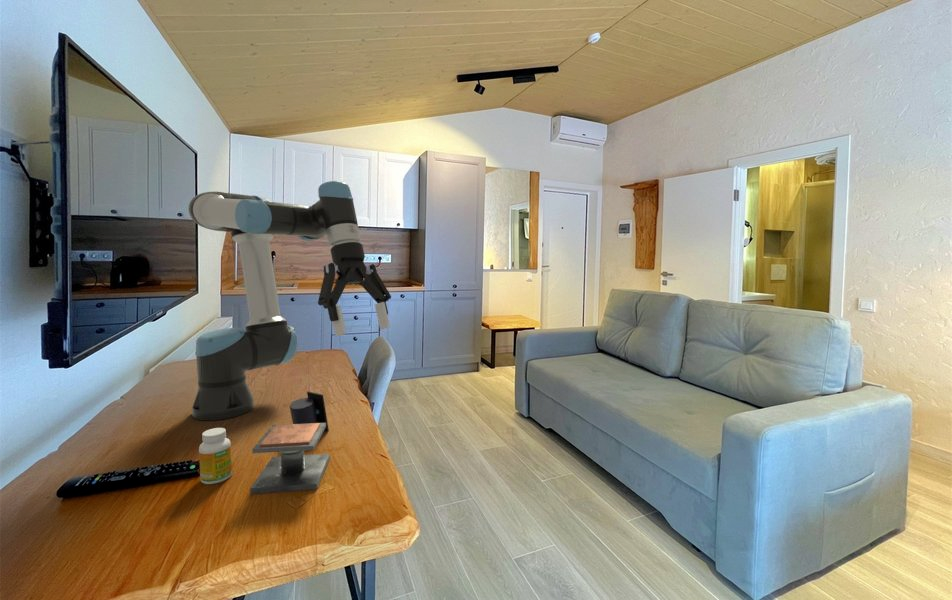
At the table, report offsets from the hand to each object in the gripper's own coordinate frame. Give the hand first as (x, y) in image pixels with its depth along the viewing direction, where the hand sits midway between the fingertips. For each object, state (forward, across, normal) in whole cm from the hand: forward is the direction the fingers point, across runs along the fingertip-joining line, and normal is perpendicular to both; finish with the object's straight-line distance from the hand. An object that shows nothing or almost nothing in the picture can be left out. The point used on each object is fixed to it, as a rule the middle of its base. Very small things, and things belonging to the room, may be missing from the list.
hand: (364, 331), depth 95 cm
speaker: (+22, -4, +23) cm, 32 cm away
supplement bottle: (+23, -27, +21) cm, 41 cm away
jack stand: (+26, -18, +10) cm, 33 cm away
